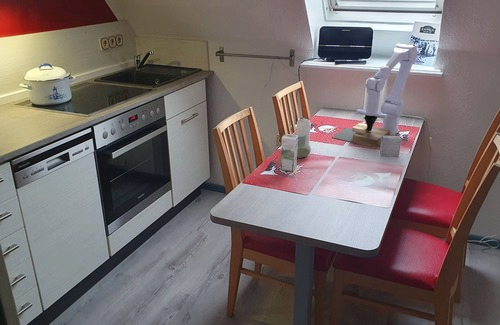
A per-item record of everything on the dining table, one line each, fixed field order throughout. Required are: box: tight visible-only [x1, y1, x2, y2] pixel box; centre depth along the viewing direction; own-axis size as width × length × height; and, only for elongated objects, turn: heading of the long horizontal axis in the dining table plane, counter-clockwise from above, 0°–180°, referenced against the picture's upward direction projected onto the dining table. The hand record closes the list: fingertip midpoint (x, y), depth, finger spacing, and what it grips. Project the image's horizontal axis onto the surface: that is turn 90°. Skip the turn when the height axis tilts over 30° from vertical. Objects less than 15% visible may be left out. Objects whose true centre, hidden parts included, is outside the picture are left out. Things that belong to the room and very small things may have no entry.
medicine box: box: [379, 135, 402, 158], centre depth 205 cm, size 8×4×9 cm, turn 84°
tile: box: [351, 122, 367, 134], centre depth 225 cm, size 9×6×2 cm, turn 145°
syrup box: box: [280, 133, 298, 172], centre depth 189 cm, size 6×6×14 cm
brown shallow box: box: [351, 125, 391, 149], centre depth 223 cm, size 18×12×4 cm, turn 145°
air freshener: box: [292, 132, 312, 159], centre depth 203 cm, size 11×8×10 cm
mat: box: [331, 127, 357, 143], centre depth 230 cm, size 18×11×1 cm, turn 145°
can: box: [295, 116, 312, 145], centre depth 217 cm, size 6×6×12 cm
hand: (369, 130), depth 223 cm, fingers closed
